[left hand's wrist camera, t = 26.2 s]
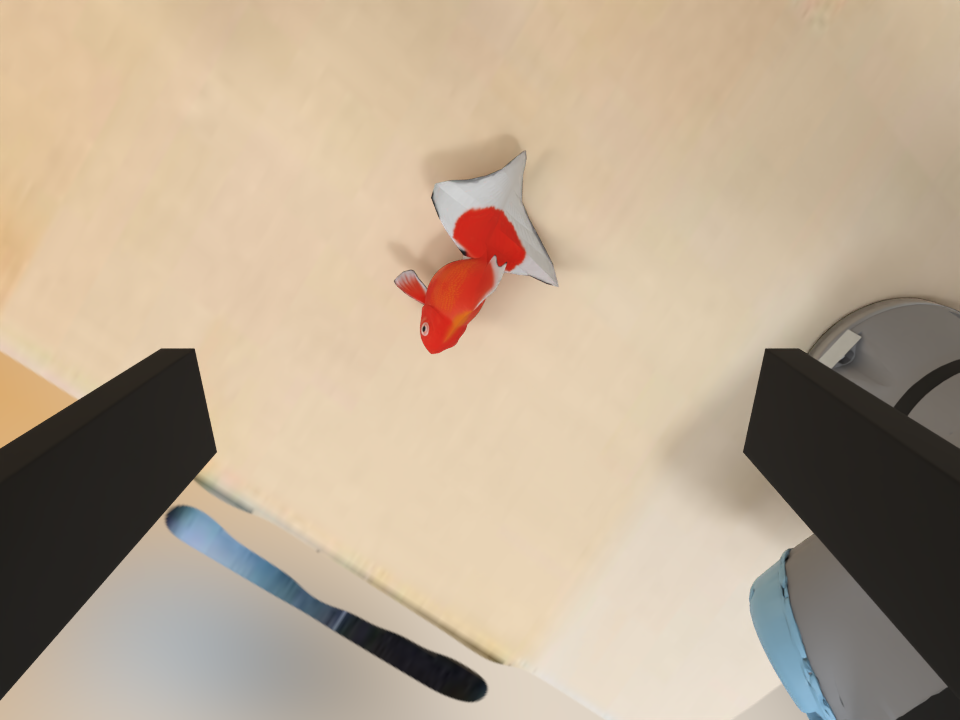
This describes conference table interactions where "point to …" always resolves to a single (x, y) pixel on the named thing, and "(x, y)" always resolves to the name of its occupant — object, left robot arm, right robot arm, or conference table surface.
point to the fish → (477, 251)
